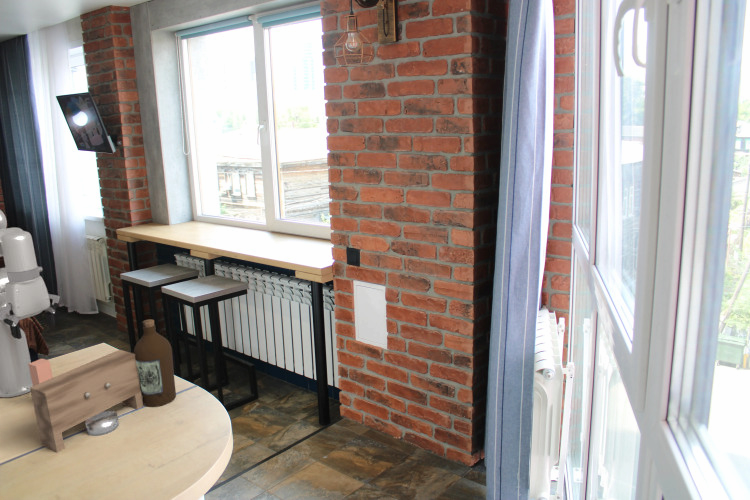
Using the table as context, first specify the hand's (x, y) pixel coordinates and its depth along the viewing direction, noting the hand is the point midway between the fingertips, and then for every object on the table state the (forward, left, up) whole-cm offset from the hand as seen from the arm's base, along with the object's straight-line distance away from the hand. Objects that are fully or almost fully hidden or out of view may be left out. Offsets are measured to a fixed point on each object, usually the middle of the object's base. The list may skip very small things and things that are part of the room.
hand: (34, 332), depth 165 cm
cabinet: (+23, 0, -24) cm, 33 cm away
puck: (+26, 0, -24) cm, 35 cm away
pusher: (+7, 0, -24) cm, 25 cm away
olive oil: (+27, +18, -24) cm, 40 cm away
